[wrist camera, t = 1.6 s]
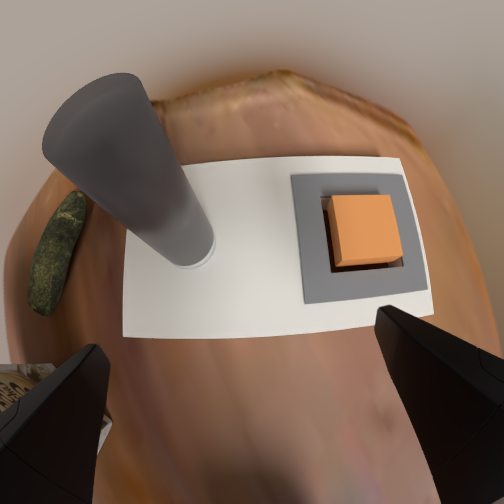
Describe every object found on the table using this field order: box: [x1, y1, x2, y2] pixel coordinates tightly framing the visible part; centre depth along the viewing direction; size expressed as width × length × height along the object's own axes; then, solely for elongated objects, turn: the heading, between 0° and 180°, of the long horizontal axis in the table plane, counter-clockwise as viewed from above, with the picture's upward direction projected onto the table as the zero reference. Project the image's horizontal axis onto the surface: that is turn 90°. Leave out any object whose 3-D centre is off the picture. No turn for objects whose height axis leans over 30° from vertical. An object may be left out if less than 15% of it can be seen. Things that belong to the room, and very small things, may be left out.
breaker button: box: [327, 195, 403, 267], centre depth 19 cm, size 5×5×2 cm
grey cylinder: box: [42, 73, 216, 269], centre depth 14 cm, size 4×4×14 cm
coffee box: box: [0, 363, 112, 455], centre depth 11 cm, size 9×6×16 cm
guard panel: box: [123, 156, 434, 339], centre depth 21 cm, size 24×14×3 cm, turn 93°
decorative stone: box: [28, 191, 87, 316], centre depth 21 cm, size 11×8×5 cm
